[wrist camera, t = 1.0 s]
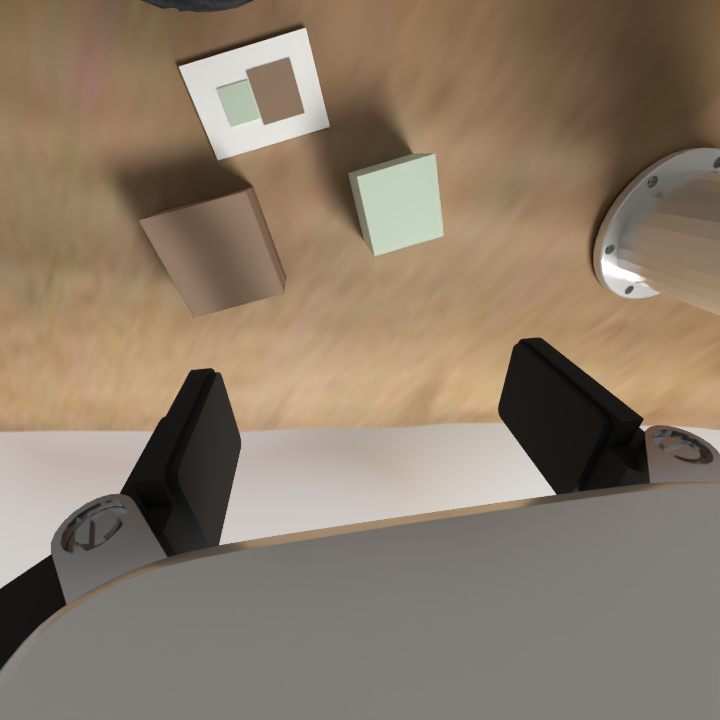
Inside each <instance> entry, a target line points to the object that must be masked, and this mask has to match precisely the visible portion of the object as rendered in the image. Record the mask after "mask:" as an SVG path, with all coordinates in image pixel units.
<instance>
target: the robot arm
mask: <svg viewBox="0 0 720 720" xmlns="http://www.w3.org/2000/svg"><path fill="white" fill-rule="evenodd" d="M593 265H594V269H595V274H596V276H597V278H598V280H599V282H600V284H601V285H602V286H603V287H604V288H605V289H606V290H608V291H610V292H612V293H614V294H616V295H618V296H621V297H624V298H632V299H638V298H646V297H650V296H653V295H657V294H659V293H663V294H665V295H668V296H670V297H673V298H675V299H678V300H680V301H683V302H685V303H688V304H691V305H693V306H696V307H698V308H701V309H703V310H706V311H708V312H711V313H713V314H716V315H719V316H720V149H718V148H690V149H685V150H681V151H678V152H675V153H672V154H670V155H668V156H666V157H664V158H662V159H660V160H658V161H657V162H655V163H654V164H652V165H651V166H649V167H648V168H647V169H645V170H644V171H643V172H641V173H640V174H639V175H638V176H637V177H636V178H635V179H634V180H633V181H631V182H630V183H629V185H628V186H627V187H626V188H625V189H624V190H623V192H622V193H621V194H620V195H619V196H618V198H617V199H616V200H615V202H614V203H613V205H612V206H611V208H610V209H609V211H608V213H607V215H606V217H605V218H604V220H603V222H602V224H601V227H600V229H599V232H598V235H597V238H596V242H595V247H594V252H593ZM498 412H499V415H500V417H501V419H502V420H503V422H504V423H505V424H506V426H507V427H508V429H509V430H510V431H511V433H512V434H513V435H514V437H515V438H516V439H517V441H518V442H519V444H520V445H521V446H522V448H523V449H524V450H525V452H526V453H527V455H528V456H529V457H530V459H531V460H532V461H533V463H534V464H535V465H536V467H537V468H538V470H539V471H540V472H541V474H542V475H543V476H544V478H545V479H546V481H547V482H548V483H549V485H550V486H551V487H552V489H553V490H554V491H555V493H556V494H557V495H552V496H545V497H538V498H530V499H524V500H516V501H509V502H502V503H495V504H488V505H481V506H474V507H468V508H460V509H453V510H446V511H439V512H432V513H425V514H418V515H412V516H404V517H398V518H391V519H384V520H377V521H371V522H364V523H357V524H351V525H344V526H337V527H331V528H324V529H317V530H311V531H304V532H297V533H291V534H285V535H278V536H272V537H266V538H260V539H255V540H249V541H242V542H236V543H230V544H225V545H219V542H220V537H221V533H222V529H223V524H224V519H225V515H226V511H227V507H228V502H229V498H230V493H231V489H232V484H233V480H234V476H235V471H236V467H237V462H238V458H239V454H240V449H241V438H240V434H239V431H238V427H237V424H236V421H235V418H234V414H233V411H232V408H231V404H230V401H229V398H228V395H227V391H226V388H225V385H224V382H223V378H222V375H221V374H220V373H219V372H216V373H215V371H214V370H213V369H212V368H208V369H198V370H191V371H190V372H189V374H188V376H187V378H186V380H185V382H184V384H183V385H182V387H181V389H180V391H179V393H178V395H177V397H176V398H175V400H174V402H173V404H172V406H171V408H170V410H169V411H168V413H167V415H166V416H165V417H163V418H162V419H161V420H160V422H159V423H158V425H157V427H156V429H155V431H154V432H153V434H152V436H151V438H150V440H149V441H148V443H147V445H146V447H145V449H144V450H143V452H142V454H141V456H140V458H139V460H138V461H137V463H136V465H135V467H134V469H133V470H132V472H131V474H130V476H129V478H128V479H127V481H126V483H125V485H124V487H123V489H122V490H121V492H120V494H110V495H107V496H103V497H100V498H97V499H95V500H93V501H91V502H89V503H87V504H85V505H83V506H82V507H81V508H79V509H78V510H76V511H75V512H73V513H72V514H71V515H70V516H69V517H68V518H67V519H66V520H65V521H64V522H63V523H62V524H61V526H60V527H59V528H58V530H57V531H56V532H55V535H54V537H53V539H52V542H51V555H49V556H48V557H47V558H45V559H44V560H42V561H41V562H39V563H38V564H36V565H35V566H33V567H32V568H30V569H29V570H27V571H26V572H24V573H23V574H21V575H20V576H18V577H17V578H16V579H14V580H13V581H11V582H10V583H8V584H7V585H5V586H4V587H2V588H1V589H0V720H720V454H719V452H718V451H717V450H716V449H715V448H714V447H713V446H712V445H711V444H710V443H708V442H707V441H705V440H704V439H702V438H700V437H698V436H696V435H694V434H692V433H690V432H688V431H685V430H682V429H679V428H676V427H671V426H663V425H656V426H652V427H649V428H648V429H647V430H646V431H645V432H644V431H643V430H642V429H640V428H639V426H640V425H641V423H642V421H643V418H642V417H641V416H640V415H638V414H637V413H636V412H634V411H633V410H632V409H631V408H629V407H628V406H627V405H626V404H624V403H623V402H622V401H621V400H619V399H618V398H617V397H615V396H614V395H613V394H612V393H610V392H609V391H608V390H607V389H605V388H604V387H603V386H602V385H600V384H599V383H598V382H596V381H595V380H594V379H593V378H591V377H590V376H589V375H588V374H586V373H585V372H584V371H583V370H581V369H580V368H579V367H577V366H576V365H575V364H574V363H572V362H571V361H570V360H569V359H567V358H566V357H565V356H564V355H562V354H561V353H560V352H558V351H557V350H556V349H555V348H553V347H552V346H551V345H550V344H548V343H547V342H546V341H545V340H543V339H542V338H527V339H521V340H520V341H519V342H518V344H516V345H515V346H514V347H513V351H512V355H511V359H510V363H509V367H508V370H507V374H506V378H505V382H504V386H503V390H502V394H501V398H500V402H499V406H498Z"/></svg>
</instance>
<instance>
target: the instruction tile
mask: <svg viewBox="0 0 720 720" xmlns="http://www.w3.org/2000/svg"><path fill="white" fill-rule="evenodd" d="M179 69H180V71H181V74H182V76H183V78H184V81H185V83H186V86H187V88H188V90H189V93H190V95H191V97H192V100H193V102H194V105H195V107H196V109H197V112H198V114H199V117H200V119H201V121H202V124H203V126H204V128H205V131H206V133H207V136H208V138H209V140H210V143H211V145H212V147H213V150H214V152H215V155H216V157H217V159H218V160H222V159H225V158H228V157H232V156H235V155H238V154H241V153H245V152H248V151H251V150H255V149H258V148H261V147H265V146H268V145H271V144H275V143H278V142H281V141H285V140H288V139H291V138H295V137H298V136H301V135H304V134H308V133H311V132H314V131H318V130H321V129H324V128H328V127H330V125H329V121H328V117H327V113H326V109H325V105H324V101H323V97H322V93H321V88H320V84H319V80H318V76H317V72H316V68H315V64H314V60H313V56H312V52H311V48H310V44H309V40H308V36H307V31H306V28H303V29H300V30H297V31H293V32H290V33H287V34H284V35H280V36H277V37H274V38H271V39H267V40H264V41H261V42H257V43H254V44H251V45H248V46H244V47H241V48H238V49H235V50H231V51H228V52H225V53H222V54H218V55H215V56H212V57H208V58H205V59H202V60H199V61H195V62H192V63H189V64H186V65H182V66H179Z"/></svg>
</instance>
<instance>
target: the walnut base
mask: <svg viewBox="0 0 720 720" xmlns="http://www.w3.org/2000/svg"><path fill="white" fill-rule="evenodd" d="M139 222H140V223H141V225H142V227H143V229H144V231H145V232H146V234H147V236H148V238H149V240H150V241H151V243H152V245H153V247H154V248H155V250H156V252H157V254H158V256H159V257H160V259H161V261H162V263H163V265H164V266H165V268H166V270H167V272H168V273H169V275H170V277H171V279H172V281H173V282H174V284H175V286H176V288H177V290H178V291H179V293H180V295H181V297H182V298H183V300H184V302H185V304H186V306H187V307H188V309H189V311H190V313H191V315H192V316H193V318H195V317H198V316H202V315H206V314H210V313H213V312H217V311H221V310H224V309H228V308H232V307H235V306H239V305H243V304H246V303H250V302H254V301H257V300H261V299H265V298H268V297H272V296H276V295H279V294H283V293H284V289H285V282H286V276H285V273H284V270H283V267H282V265H281V262H280V259H279V256H278V254H277V251H276V248H275V245H274V243H273V240H272V237H271V234H270V231H269V229H268V226H267V223H266V220H265V218H264V215H263V212H262V209H261V206H260V204H259V201H258V198H257V195H256V193H255V190H254V187H249V188H246V189H242V190H238V191H235V192H231V193H227V194H224V195H220V196H216V197H213V198H209V199H205V200H202V201H198V202H194V203H191V204H187V205H183V206H180V207H176V208H172V209H168V210H165V211H161V212H158V213H156V214H153V215H151V216H149V217H146V218H144V219H141V220H139Z"/></svg>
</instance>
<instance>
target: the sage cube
mask: <svg viewBox="0 0 720 720" xmlns="http://www.w3.org/2000/svg"><path fill="white" fill-rule="evenodd" d="M348 176H349V180H350V184H351V188H352V193H353V197H354V201H355V205H356V210H357V214H358V218H359V222H360V227H361V231H362V235H363V240H364V242H365V243H366V245H367V246H368V247H369V249H370V250H371V252H372V253H373V255H374V256H377V255H380V254H384V253H387V252H390V251H394V250H397V249H401V248H404V247H407V246H411V245H414V244H417V243H421V242H424V241H428V240H431V239H434V238H438V237H441V236H444V234H443V224H442V215H441V205H440V195H439V186H438V176H437V166H436V157H435V154H410V155H407V156H403V157H400V158H397V159H393V160H390V161H387V162H383V163H380V164H377V165H373V166H370V167H366V168H363V169H360V170H356V171H353V172H350V173H348Z"/></svg>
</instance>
